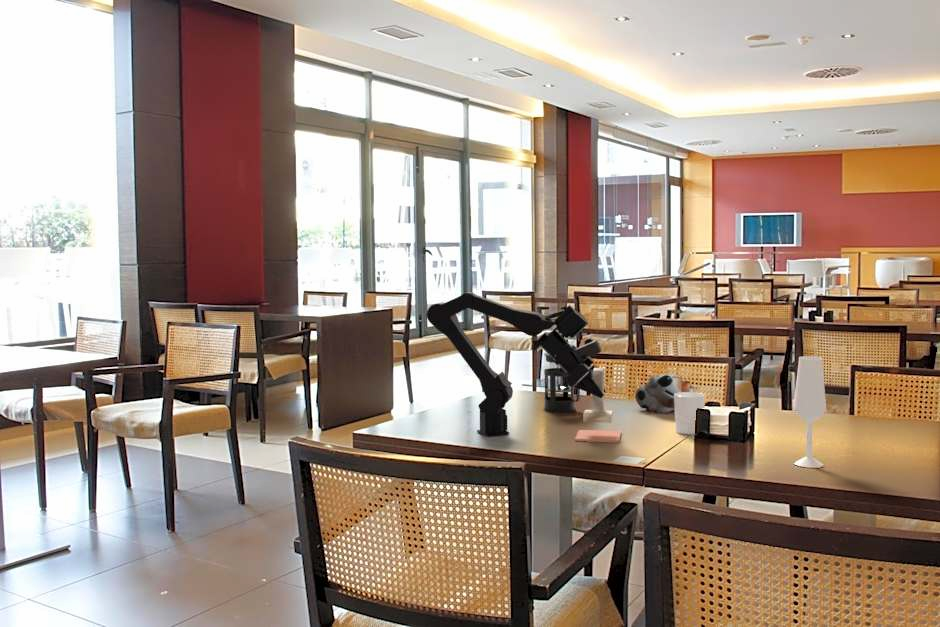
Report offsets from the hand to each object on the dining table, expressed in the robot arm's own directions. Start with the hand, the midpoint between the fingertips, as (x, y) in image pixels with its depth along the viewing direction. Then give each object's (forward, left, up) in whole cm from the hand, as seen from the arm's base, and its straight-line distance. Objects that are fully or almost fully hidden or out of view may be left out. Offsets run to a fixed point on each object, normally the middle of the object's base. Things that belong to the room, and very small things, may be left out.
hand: (603, 394), depth 227 cm
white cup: (+23, -6, -11) cm, 26 cm away
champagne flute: (+22, -46, -11) cm, 52 cm away
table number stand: (-1, +1, -7) cm, 7 cm away
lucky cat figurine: (+37, +21, -11) cm, 44 cm away
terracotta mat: (-1, +1, -11) cm, 11 cm away
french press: (+12, +38, -11) cm, 41 cm away
